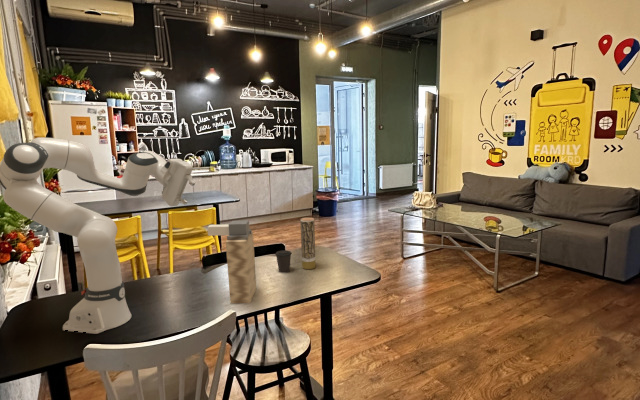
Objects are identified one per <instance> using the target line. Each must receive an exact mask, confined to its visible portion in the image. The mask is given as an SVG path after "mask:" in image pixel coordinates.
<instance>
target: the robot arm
mask: <svg viewBox="0 0 640 400" xmlns="http://www.w3.org/2000/svg"><path fill="white" fill-rule="evenodd" d="M49 168H52V169H58V170H65V171H68V172H71V173H72V174H75V175H76V176H77V178H78V179H79V180H81V181H83V182H86V183H89V184H92V185H94V186H95V185H96V186H99V187H103V188H106V189H110V190H113V191H114V190H115V191H117V192H120V193H123V194H124V195H125V194H126V195H128V196H131V197H132V196H133V197H137V196H140V195H143V194H145V193H146V190H147V186H148V181H149V178H150V176H152V177H154V179H155V180H156V181H158V183H160V184H161V185H162V186H163V188H162V191H161V197H162V199H163V200H164V202H165V203H166V204H167V205H168V206H169V207H177V206H179V203H181V204H183V205H187V203H188V200H187V199H186V198H184V199H183V198H182V196H183V194H184V191H185V189H186V186H187V184H188V185H190V186H195V184H196V181H195V180H194V178H193V176H192V175H191V174H192V173H193V170H194V169H193V165H192V164H190V162H187V161H186V160H183V159H181V158H169V159H168V160H167V161H166V159H165V158H164V157H162V156H161V155H159V154H158V153H156V152H154V151H153V150H152V151H151V150H144V151H139V152H134V153H132V154H130V155H129V156H128V158H127V161H126V164H125V168H124V171H123V175H122V177H120V178H119V177H115V176H111V175H108V174H105V173H102V172H100V171H98V170H97V169H96V166H95V161H94V157H93V153H92V152H91V150H90V149H89V147H88V146H86V144H84V143H82V142H79V141H75V140H69V139H62V138H55V137H35V138H34V139H32V140H31V141H29V142H19V143H14V144H13V145H12V144H11V146H9V147H8V148H7V149H6V150H5V151H4V154H3V157H2V159H1V161H0V185H1V187H3V189H4V192H3V198H2V199H3V201H4V203H5V204H6V205H7V206H9V207H10V208H11V209H12V210H14V211H15V212H17V213H19V214H20V215H22V216H23V217H25V218H28V219H29V220H31V221H33V222H35V223H37V224H40V225H41V226H43V227H46V229H47V228H48V229H49V230H52V232H56V233H63V234H64V235H65V234H66V235H69V236H72V237H75V238H76V239H77V247H78V249H79V253H80V256H81V260H82V263H83V266H84V270H85V275H86V276H85V277H86V282H87V286H86V288H84V289H83V290H82V291H81V292H80V293H81V296H82V295H84V294H85V295H84V297H83V298H82V299H80V301H79V302H77V303H76V304H75V305H74V306H73V307H72V308H71V310H70V311H69V317H68V320H67V321H65V323H64V324H63V325H62V331H65V330H68V331H67V332H74V331H78V332H77V333H83V332H86V333H85V334H94V335H95V334H100V333H103V332H104V331H108V330H111V329H114V328H117V327H120V326H122V325H124V324H126V323H127V322H128V321H130V320H131V318H132V317H133V316H132V313H131V311H130V309H129V307H128V304H127V300H126V290H125V284H124V280H123V278H122V269H121V262H120V259H119V255H118V251H117V247H116V246H117V245H116V237H117V234H118V227H117V224H116V222H115V220H113V219H112V218H111V217H109V216H105V215H103V214H101V213H99V212H97V211H95V210H91V209H89V208H87V207H85V206H81V205H79V204H76V203H75V202H72V201H70V200H69V199H66V198H65V197H63V196H61V195H59V194H57V193H56V192H55V191H54V192H53V191H51V190H50V189H48V188H45V187H44V186H43V185H42V184H40V183H39V182H38V178H39V177H40V176H41V174H42V171H43V169H49Z"/></svg>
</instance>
